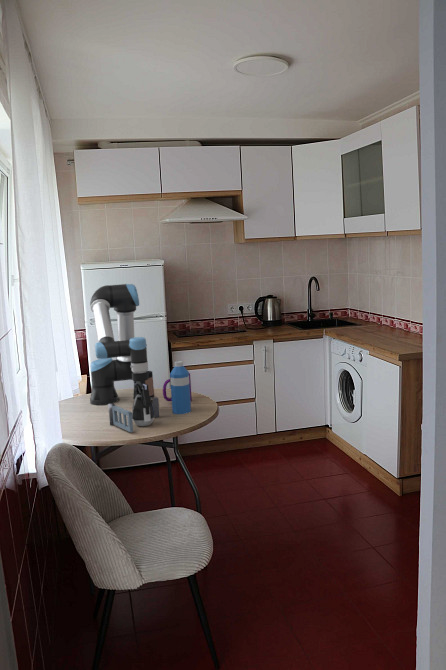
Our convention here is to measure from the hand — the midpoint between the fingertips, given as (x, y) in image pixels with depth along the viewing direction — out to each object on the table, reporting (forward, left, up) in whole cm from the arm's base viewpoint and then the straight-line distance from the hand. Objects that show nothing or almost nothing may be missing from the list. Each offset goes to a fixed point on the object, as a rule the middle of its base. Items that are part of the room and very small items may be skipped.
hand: (143, 418), depth 260 cm
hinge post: (-9, -12, -3) cm, 15 cm away
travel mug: (-21, +9, -3) cm, 23 cm away
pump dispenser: (0, 0, -3) cm, 3 cm away
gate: (+2, -10, -2) cm, 11 cm away
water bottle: (-10, +23, -3) cm, 25 cm away
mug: (-28, +28, -3) cm, 40 cm away
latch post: (-9, +8, -3) cm, 13 cm away
